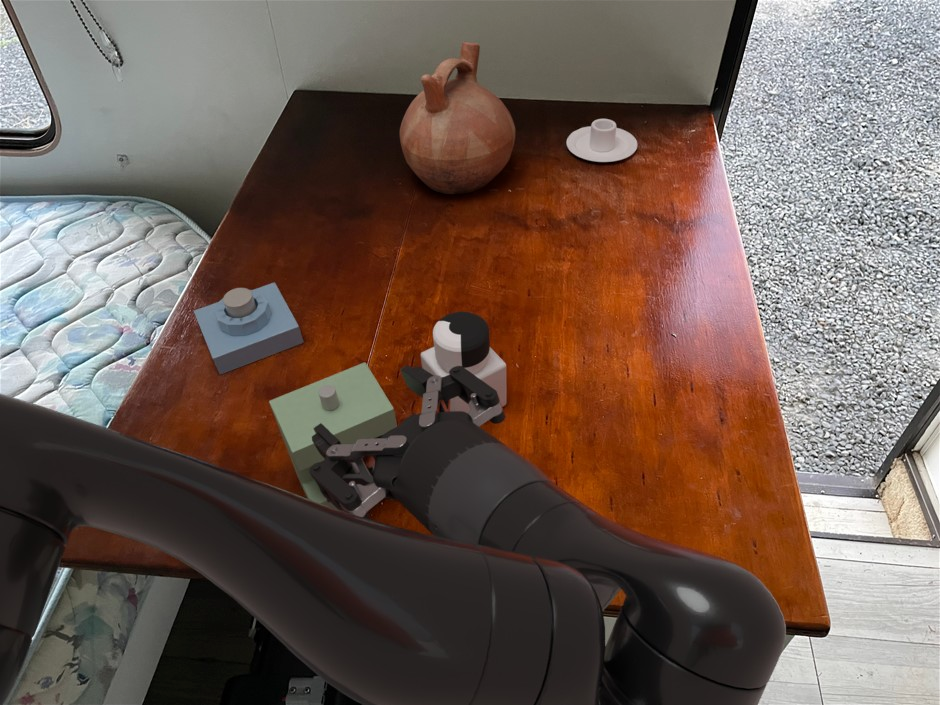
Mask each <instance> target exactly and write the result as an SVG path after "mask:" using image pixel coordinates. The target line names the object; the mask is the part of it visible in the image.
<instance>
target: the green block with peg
mask: <svg viewBox="0 0 940 705" xmlns="http://www.w3.org/2000/svg"><path fill="white" fill-rule="evenodd" d="M268 403H269V406H270V408H271V411H272V413H273V416H274V419H275V421H276V424H277V426H278V429H279V432H280V434H281V438H282V440H283V442H284V445H285V447H286V451H287V453H288V456H289V458H290V460H291V463H292V466H293V469H294V471H295V474H296V477H297V479H298V481H299V484H300V486H301V488H302V490H303V492H304V494H305V498H307V499H310V500H313V501H316V502H318V503H321V504H324V505H327V506H330V507H333V508H336V507H335V506H334V505H333V504H332V503H331V502H328V501H327V499H326V498H325V497H324V496H323V494H322V493H321V491H320V488H319V486H318V485H317V483H316V481H315V480H314V478H313V477H312V476H311V474H310V473H309V469H310V467H311V466H312V465H314V464H315V463H318V462H322V461H324V460H325V458H323V456H321V454H320V453H319V452H318V450H317V448H316V447H315V445H314V443H313V441H312V436H313V435H315V434H316V432H315V431H314V429H313V428H314V427H316V426H317V425H319V424H320V423H321V424H323V425H324V426H325V427H326V428H327V429H328V430H329V431H330V432H331V433H332V434H333V435H334V436H335V437H336V438H337V439H338V440H339V441H340V443H341V444H355V443H356V441H357V440H358V439H374V438H376V437H379V436H381V435H384V434H385V433H386V432H388V431H389V430H391V429H394V428H396V427H398V424H397V419H396V418H397V417H396V412H395V408H394V406H393V404H392V403H391V402H390V400H389V398H388V397H387V395H386V393H385V392H384V390H383V389H382V386H381V384H379V382H378V380H377V379H376V377H375V375H374V373H373V372H372V370H371V369H370V367H369V366H368V364H367V363H366V362H361V363H359V364H357V365H354V366H352V367H349V368H347V369H345V370H342V371H339V372H337V373H334V374H332V375H329V376H327V377H325V378H322V379H320V380H317V381H315V382H312V383H310V384H307V385H305V386H303V387H300V388H297V389H295V390H292V391H290V392H288V393H284V394H283V395H280V396H278V397H275V398H273V399H270V400H269V401H268ZM371 484H373V483H370V484H367V485H365V486H368V485H371ZM336 509H337V508H336Z"/></svg>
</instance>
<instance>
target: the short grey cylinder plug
mask: <svg viewBox="0 0 940 705" xmlns="http://www.w3.org/2000/svg"><path fill="white" fill-rule="evenodd" d="M250 290H251V289H248V288H247V287H236V288H233V289H231V290H229V291H227V292H226V293H225V294H224V296H223V297H222V299H223V303H224V305H225V308H226V310H227V313H228V315H229V316H230V317H232V318H243V317H246V316H249V315H251V314H252V313H253V312H254V311H255V309H256V303H255V300H254V298H253V295H252V292H251V291H250Z"/></svg>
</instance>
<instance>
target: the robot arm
mask: <svg viewBox="0 0 940 705" xmlns="http://www.w3.org/2000/svg"><path fill="white" fill-rule="evenodd" d="M400 373H401V376H402V377H403V381H404V382H405V385H406V386H407V388H408V389H409V390H410V391H412V392H413V393H415V394H416V395H417V396H419V397H420V398H422V402H421V412H420V413H417V414H416V413H415V412H413V413H412V414H411V415H409V416H407V417H406V418H405V419H404V420H403V421H402V422H401V423H400V424H399V425H397V427H396V428H394V429H391V430H389V431H388V432H386V433H385V434H384V435H382V436H381V438H376V439H358V440H357V441H356V443H355V444H341V443H340V441H339V440H338V439H337V438H336V437H335V436H334V435H333V434H332V433H331V432H330V431H329V430H328V429H327V428H326V427H325V426H324V425H323V424H321V423H320V424H319V425H317V426H316V427H314V428H313V429H314V431H315V432H316V434H315V435H313V436H312V441H313V443H314V445H315V447H316V448H317V450H318V452H319V453H320V454H321V456H323V458H325V460H324V461H323V462H318V463H315V464H314V465H312V466H311V467H310V469H309V473H310V474H311V476H312V477H313V478H314V480H315V481H316V483H317V485H318V486H319V488H320V491H321V493H322V494H323V496H324V497H325V498H327V499H328V500H329V501H330V502H331V503H332V504H333V505H334V506H335V507H336V508H337V509H336V508H333V507H330V506H327V505H324V504H321V503H318V502H316V501H313V500H310V499H307V497H306V496H305V497H304V496H302V495H299V494H297V493H294V492H291V491H288V490H286V489H282V488H279V487H277V486H274V485H273V484H269V483H266V482H264V481H261V480H257V479H254V478H252V477H249V476H246V475H244V474H241V473H238V472H236V471H234V470H232V469H231V470H230V469H228V468H225V467H222V466H219V465H216V464H213V463H210V462H208V461H205V460H203V459H199V458H196V457H193V456H190V455H187V454H185V453H181V452H178V451H175V450H172V449H170V448H167V447H163V446H160V445H157V444H154V443H152V442H148V441H145V440H143V439H139V438H137V437H134V436H131V435H128V434H125V433H122V432H119V431H118V430H117V431H116V430H114V429H111V428H108V427H105V426H102V425H99V424H97V423H93V422H90V421H87V420H85V419H81V418H78V417H75V416H73V415H70V414H66V413H64V412H61V411H58V410H55V409H51V408H49V407H46V406H42V405H40V404H36V403H34V402H30V401H26V400H23V399H20V398H17V397H13V396H10V395H6V394H3V393H0V705H4V704H5V703H6V701H7V699H8V697H9V695H10V694H11V692H12V690H13V688H14V686H15V685H16V683H17V681H18V678H19V676H20V674H21V672H22V670H23V668H24V666H25V665H24V664H25V662H26V659H27V657H28V654H29V652H30V649H31V646H32V644H33V638H34V636H35V635H36V632H37V629H38V627H39V623H40V620H41V618H42V615H43V612H44V609H45V606H46V603H47V601H48V598H49V595H50V592H51V589H52V587H53V583H54V581H55V578H56V576H57V573H58V571H59V567H60V564H61V561H62V559H63V556H64V553H65V550H66V545H67V544H68V542H69V539H70V536H71V533H72V532H73V531H74V530H75V529H76V528H78V527H89V528H93V529H96V530H100V531H104V532H108V533H111V534H115V535H119V536H122V537H125V538H128V539H131V540H134V541H136V542H139V543H142V544H145V545H146V546H149V547H152V548H154V549H157V551H161V552H163V553H165V554H167V555H169V556H171V557H172V558H174V559H176V560H178V561H180V562H182V563H183V564H185V565H187V566H188V567H190V568H191V569H193V570H195V571H196V572H198V573H199V574H200V575H202V576H203V577H205V579H207V580H209V581H210V582H211V583H212V584H214V585H215V586H216V587H217V588H219V589H220V590H221V591H223V593H226V594H227V595H228V596H229V597H230V598H232V599H233V600H234V601H235V602H236V603H238V605H240V606H241V607H242V608H243V609H244V610H245V611H247V612H248V614H250V615H251V617H253V618H254V619H255V620H256V621H258V622H259V623H260V624H261V625H262V626H263V627H265V629H266V630H268V631H269V632H270V634H272V636H274V637H275V638H276V639H277V640H278V641H279V642H280V643H281V644H282V645H283V646H284V647H286V649H287V650H288V651H290V653H292V654H293V655H294V656H295V657H296V658H298V660H300V661H301V662H302V663H303V664H305V666H307V667H308V668H309V669H310V670H311V671H313V673H315V675H317V676H318V677H319V678H321V679H322V680H323V681H324V682H325V683H327V684H329V685H330V687H333V688H334V689H335V690H337V691H338V692H340V693H341V694H343V695H344V696H346V697H348V698H349V699H351V700H353V701H355V702H356V703H359V704H361V705H759V703H760V701H761V698H762V696H763V694H764V692H765V690H766V688H767V685H768V683H769V682H770V679H771V677H772V676H773V674H774V671H775V669H776V667H777V664H778V662H779V660H780V657H781V655H782V652H783V651H784V648H785V647H784V646H785V642H786V639H787V625H786V621H785V617H784V614H783V612H782V610H781V608H780V606H779V603H778V601H777V600H776V598H775V597H774V596H773V594H772V592H771V591H770V590H769V588H767V587H766V585H765V584H764V583H763V582H762V580H760V579H759V578H758V577H757V576H756V575H755V574H753V572H751V571H749V570H748V569H746V568H744V567H743V566H742V565H741V564H740V565H739V563H738V564H737V563H736V562H734V561H731V560H728V559H727V558H724V557H721V556H718V555H715V554H713V553H708V552H705V551H702V550H699V549H695V548H691V547H688V546H684V545H680V544H676V543H672V542H670V541H665V540H662V539H660V538H656V537H653V536H650V535H648V534H645V533H642V532H640V531H637V530H636V529H635V530H634V529H631V528H629V527H627V526H624V525H623V524H620V523H618V522H616V521H613V520H611V519H609V518H607V517H605V516H604V515H602V514H600V513H598V512H597V511H595V510H594V509H592V508H591V507H589V506H588V505H586V504H585V503H583V502H582V501H580V500H579V499H577V498H576V497H574V496H573V495H571V494H570V493H569V492H568V491H566V490H564V489H563V488H562V487H560V486H559V485H557V484H556V482H554V481H552V480H551V478H550V477H548V476H547V475H546V473H545V472H544V471H542V470H541V469H540V468H539V467H538V466H537V465H536V464H534V463H533V462H532V461H530V460H528V459H527V458H525V457H524V456H522V454H520V453H518V452H516V450H514V449H513V448H511V447H510V446H508V445H506V443H504V442H502V441H501V440H499V439H498V438H497V437H495V436H493V435H492V434H490V433H489V432H488V431H487V430H485V429H483V428H482V427H481V426H482V425H484V424H485V423H487V422H488V421H489V422H490V423H492V424H495V425H497V424H498V425H499V424H501V423H503V422H504V421H505V420H506V414H505V411H504V408H503V407H502V405H501V402H500V399H499V396H498V394H497V391H496V390H495V389H493V388H492V387H490V386H489V385H488V384H486V383H485V382H483V381H482V380H481V379H479V378H478V377H476V376H475V375H474V374H472V373H471V372H469V371H468V370H466V369H465V368H464V367H462V366H455V367H453V368H452V369H450V371H449V374H450V375H447V376H445V377H441V376H439V375H435V376H434V375H432V374H431V373H429V372H428V371H426V370H424V369H423V368H422V366H417V365H416V366H415V365H414V366H413V367H412V366H410V365H409V364H407V365H405V366H404V367H402V368H400ZM457 396H459V398H461V399H462V400H463V401H465V402H466V403H467V404H468V405H469V407H470V412H469V413H466V412H463V411H450V405H451V400H450V399H452V398H454V397H457ZM372 455H376V459H375V460H374V458H373V456H372ZM350 460H352V461H354V462H355V463H351V462H350ZM342 478H361V479H364V480H365V481H366V482H368V483H373V484H371V485H368V486H363V485H361V484H356V483H355V481H351V482H350V483H349V484H347V483H346V482H345V481H344V480H343V479H342ZM383 499H386V500H394V501H396V502H398V503H399V504H400V505H401V506H402V507H403V508H404V509H405V510H406V511H408V512H409V513H410V514H411V515H412V516H413V517H414V518H415V519H416V520H417V521H418V522H419V523H420V524H421V525H422V526H423V527H424V528H425V529H426V530H427V531H428V532H429V533H430V534H431V535H430V534H427V533H422V532H418V531H414V530H410V529H405V528H401V527H397V526H394V525H391V524H387V523H383V522H380V521H377V520H373V519H371V514H370V513H369V511H370V510H371V509H372V508H374V507H375V506H376V505H377V504H379V503H380V502H381V501H383ZM620 591H622V592H623V594H624V595H625V597H624V600H623V603H622V604H621V605H622V606H621V607H620V610H619V611H618V614H617V617H616V619H615V622H614V625H613V627H612V629H611V631H610V634H609V636H608V639H607V640H606V624H605V617H604V611H605V610H606V609H607V607H609V605H610V604H611V603H612V602H613V600H614V599H615V597H616V596H617V595H618V594H619V592H620Z"/></svg>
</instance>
